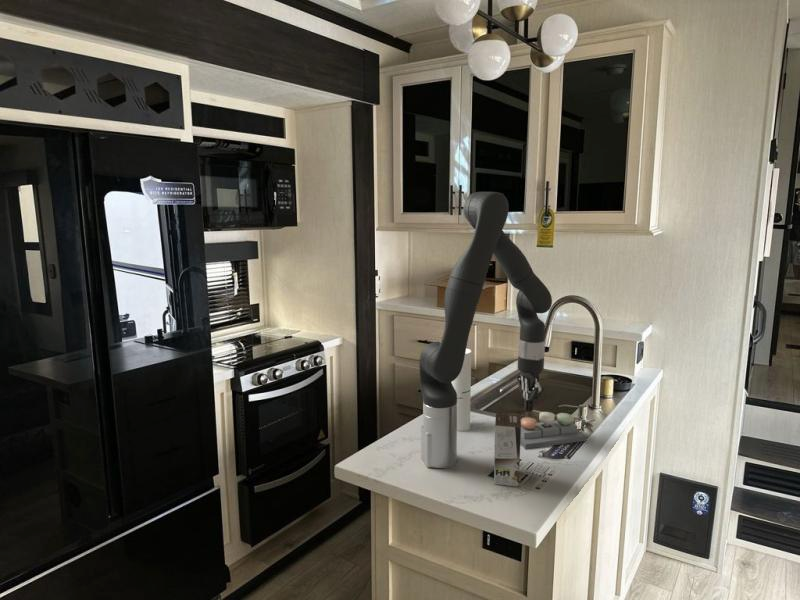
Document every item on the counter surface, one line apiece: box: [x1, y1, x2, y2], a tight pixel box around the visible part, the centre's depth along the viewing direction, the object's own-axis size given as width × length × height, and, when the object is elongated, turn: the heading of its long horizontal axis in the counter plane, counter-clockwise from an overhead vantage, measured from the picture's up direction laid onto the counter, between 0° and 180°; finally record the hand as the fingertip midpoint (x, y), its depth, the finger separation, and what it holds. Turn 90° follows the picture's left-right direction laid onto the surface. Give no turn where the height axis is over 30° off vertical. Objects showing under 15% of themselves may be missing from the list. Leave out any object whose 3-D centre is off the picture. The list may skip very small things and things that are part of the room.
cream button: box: [538, 411, 556, 427], centre depth 165 cm, size 4×4×4 cm
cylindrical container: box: [451, 347, 472, 432], centre depth 172 cm, size 7×7×25 cm
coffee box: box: [493, 412, 521, 487], centre depth 142 cm, size 9×6×16 cm
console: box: [520, 419, 588, 450], centre depth 166 cm, size 20×12×3 cm, turn 104°
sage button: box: [556, 412, 573, 426], centre depth 167 cm, size 4×4×4 cm
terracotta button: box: [520, 416, 537, 430], centre depth 164 cm, size 4×4×4 cm
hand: (528, 410), depth 163 cm, fingers closed
